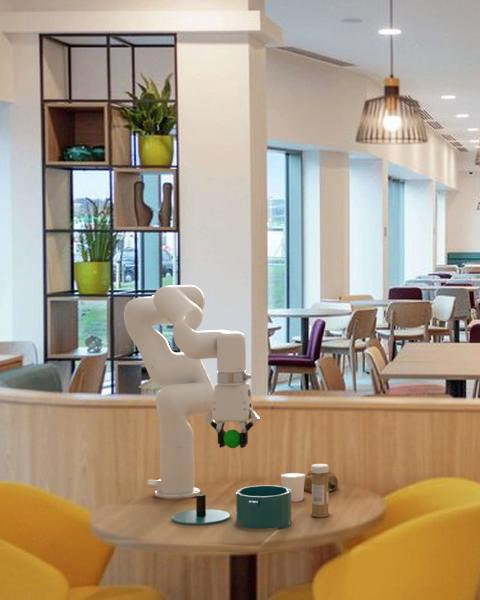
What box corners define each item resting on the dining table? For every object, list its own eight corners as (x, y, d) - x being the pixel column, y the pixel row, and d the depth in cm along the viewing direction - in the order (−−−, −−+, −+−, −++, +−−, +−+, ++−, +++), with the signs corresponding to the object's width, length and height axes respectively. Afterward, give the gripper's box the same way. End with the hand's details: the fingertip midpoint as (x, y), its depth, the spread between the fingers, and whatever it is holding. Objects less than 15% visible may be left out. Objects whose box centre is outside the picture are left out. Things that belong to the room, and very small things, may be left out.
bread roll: (318, 506, 306) (327, 482, 303) (292, 487, 310) (301, 463, 308) (338, 499, 314) (347, 476, 312) (312, 481, 319) (321, 458, 317)
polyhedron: (222, 446, 284) (221, 429, 284) (240, 445, 286) (240, 428, 286) (225, 449, 280) (224, 431, 279) (243, 448, 281) (243, 430, 281)
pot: (225, 532, 262) (225, 498, 262) (249, 514, 281) (249, 482, 281) (279, 534, 260) (278, 500, 260) (299, 516, 279) (299, 484, 278)
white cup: (307, 497, 301) (307, 472, 301) (302, 502, 294) (302, 477, 294) (283, 496, 302) (283, 471, 302) (278, 502, 295) (278, 476, 295)
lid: (163, 526, 268) (163, 500, 268) (184, 512, 283) (184, 487, 283) (218, 528, 266) (218, 502, 266) (237, 514, 280) (237, 489, 280)
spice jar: (332, 515, 280) (332, 464, 279) (321, 518, 276) (321, 467, 276) (319, 512, 283) (318, 462, 282) (307, 516, 279) (307, 465, 278)
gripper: (266, 377, 285) (267, 445, 285) (205, 377, 287) (207, 444, 288) (258, 380, 277) (259, 449, 278) (195, 379, 280) (197, 448, 280)
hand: (232, 446), depth 283 cm, fingers closed on polyhedron, 5 cm apart
